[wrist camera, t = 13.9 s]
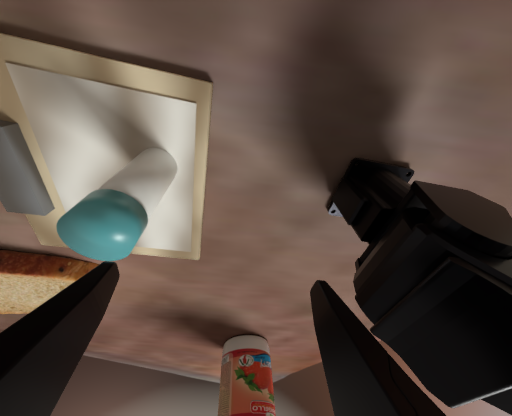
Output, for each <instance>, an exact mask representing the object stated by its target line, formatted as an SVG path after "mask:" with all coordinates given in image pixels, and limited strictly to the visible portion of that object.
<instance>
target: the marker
mask: <svg viewBox="0 0 512 416" xmlns="http://www.w3.org/2000/svg"><path fill="white" fill-rule="evenodd" d="M177 171H178V167H177V163H176V161H175V159H174V158H173V157H172V156H171V155H170V154H169V153H168V152H166V151H165V150H163V149H160V148H148V149H145V150H144V151H142V152H141V153H140V154H139V155H138V156H136V157H135V158H134V159H133V160H132V161H131V162H129V163H128V164H127V165H126V166H125V167H123V168H122V169H121V170H120V171H119V172H118V173H116V174H115V175H114V176H113V177H112V178H110V179H109V180H108V181H107V182H106V183H104V184H103V185H102V186H101V187H100V188H99V189H97V190H95V191H93V192H91V193H89V194H88V195H87V196H86V197H85V198H83V199H82V200H81V201H80V202H78V203H77V204H76V205H75V206H74V207H72V208H71V209H70V210H69V211H68V212H66V213H65V214H64V215H63V216H62V217H61V218H60V219H59V220H58V222H57V226H56V228H57V233H58V235H59V237H60V238H61V240H62V241H63V242H64V243H65V244H66V245H67V246H68V247H69V248H71V249H72V250H74V251H75V252H77V253H79V254H81V255H83V256H86V257H89V258H92V259H96V260H102V261H115V260H120V259H123V258H125V257H127V256H128V255H129V254H130V253H131V251H132V250H133V248H134V246H135V245H136V243H137V241H138V240H139V238H140V237H141V235H142V233H143V232H144V230H145V228H146V227H147V224H148V220H149V218H150V217H151V215H152V214H153V212H154V210H155V209H156V207H157V205H158V204H159V202H160V201H161V199H162V197H163V196H164V194H165V192H166V191H167V189H168V188H169V186H170V184H171V183H172V181H173V180H174V178H175V176H176V175H177Z"/></svg>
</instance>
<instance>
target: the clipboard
mask: <svg viewBox="0 0 512 416" xmlns="http://www.w3.org/2000/svg"><path fill="white" fill-rule="evenodd" d="M212 92H213V82H208V81H204V80H200V79H196V78H191V77H187V76H183V75H179V74H174V73H170V72H166V71H162V70H157V69H153V68H149V67H145V66H140V65H136V64H132V63H128V62H123V61H119V60H115V59H111V58H106V57H102V56H98V55H94V54H89V53H85V52H81V51H77V50H72V49H68V48H64V47H60V46H55V45H51V44H47V43H43V42H38V41H34V40H30V39H26V38H21V37H17V36H13V35H9V34H4V33H0V201H1V202H2V204H3V206H4V207H5V209H6V211H7V212H15V213H24V214H25V216H26V217H27V219H28V221H29V223H30V225H31V227H32V228H33V230H34V232H35V234H36V236H37V237H38V239H39V241H40V243H41V245H48V246H59V247H68V246H67V245H66V244H65V243H64V242H63V241H62V240H61V238H60V237H59V235H58V233H57V228H56V226H57V222H58V220H59V219H60V218H61V217H62V216H63V215H64V214H65V213H66V212H68V211H69V210H70V209H71V208H72V207H74V206H75V205H76V204H77V203H78V202H80V201H81V200H82V199H83V198H85V197H86V196H87V195H88V194H89V193H91V192H93V191H95V190H97V189H99V188H100V187H101V186H102V185H103V184H104V183H106V182H107V181H108V180H109V179H110V178H112V177H113V176H114V175H115V174H116V173H118V172H119V171H120V170H121V169H122V168H123V167H125V166H126V165H127V164H128V163H129V162H131V161H132V160H133V159H134V158H135V157H136V156H138V155H139V154H140V153H141V152H142V151H144V150H145V149H148V148H160V149H163V150H165V151H166V152H168V153H169V154H170V155H171V156H172V157H173V158H174V159H175V161H176V163H177V167H178V171H177V175H176V176H175V178H174V180H173V181H172V183H171V184H170V186H169V188H168V189H167V191H166V192H165V194H164V196H163V197H162V199H161V201H160V202H159V204H158V205H157V207H156V209H155V210H154V212H153V214H152V215H151V217H150V218H149V220H148V224H147V227H146V228H145V230H144V232H143V233H142V235H141V237H140V238H139V240H138V241H137V243H136V245H135V246H134V248H133V250H132V251H131V254H142V255H152V256H162V257H173V258H183V259H193V260H199V258H200V252H201V238H202V225H203V212H204V199H205V185H206V172H207V159H208V145H209V132H210V119H211V106H212Z"/></svg>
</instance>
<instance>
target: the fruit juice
mask: <svg viewBox="0 0 512 416" xmlns="http://www.w3.org/2000/svg"><path fill="white" fill-rule="evenodd" d="M218 416H275V405H274V394H273V382H272V371H271V361H270V350H269V345H268V342H267V341H266V340H265V339H264V338H262V337H259V336H254V335H242V336H237V337H233V338H231V339H229V340H228V341H226V342H225V344H224V347H223V352H222V366H221V380H220V395H219V408H218Z"/></svg>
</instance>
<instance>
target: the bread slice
mask: <svg viewBox="0 0 512 416" xmlns="http://www.w3.org/2000/svg"><path fill="white" fill-rule="evenodd" d="M98 265H99V264H96V263H92V262H85V261H82V260H77V259H71V258H67V257H59V256H53V255H47V254H35V253H24V252H17V251H10V250H0V314H22V313H30V312H31V311H33V310H34V309H36V308H37V307H39V306H40V305H41V304H43V303H44V302H46V301H47V300H49V299H50V298H52V297H53V296H55V295H56V294H57V293H59V292H60V291H62V290H63V289H65V288H66V287H68V286H69V285H71V284H72V283H73V282H75V281H76V280H78V279H79V278H81V277H82V276H84V275H85V274H87V273H88V272H89V271H91V270H92V269H94V268H95V267H97V266H98Z"/></svg>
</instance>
